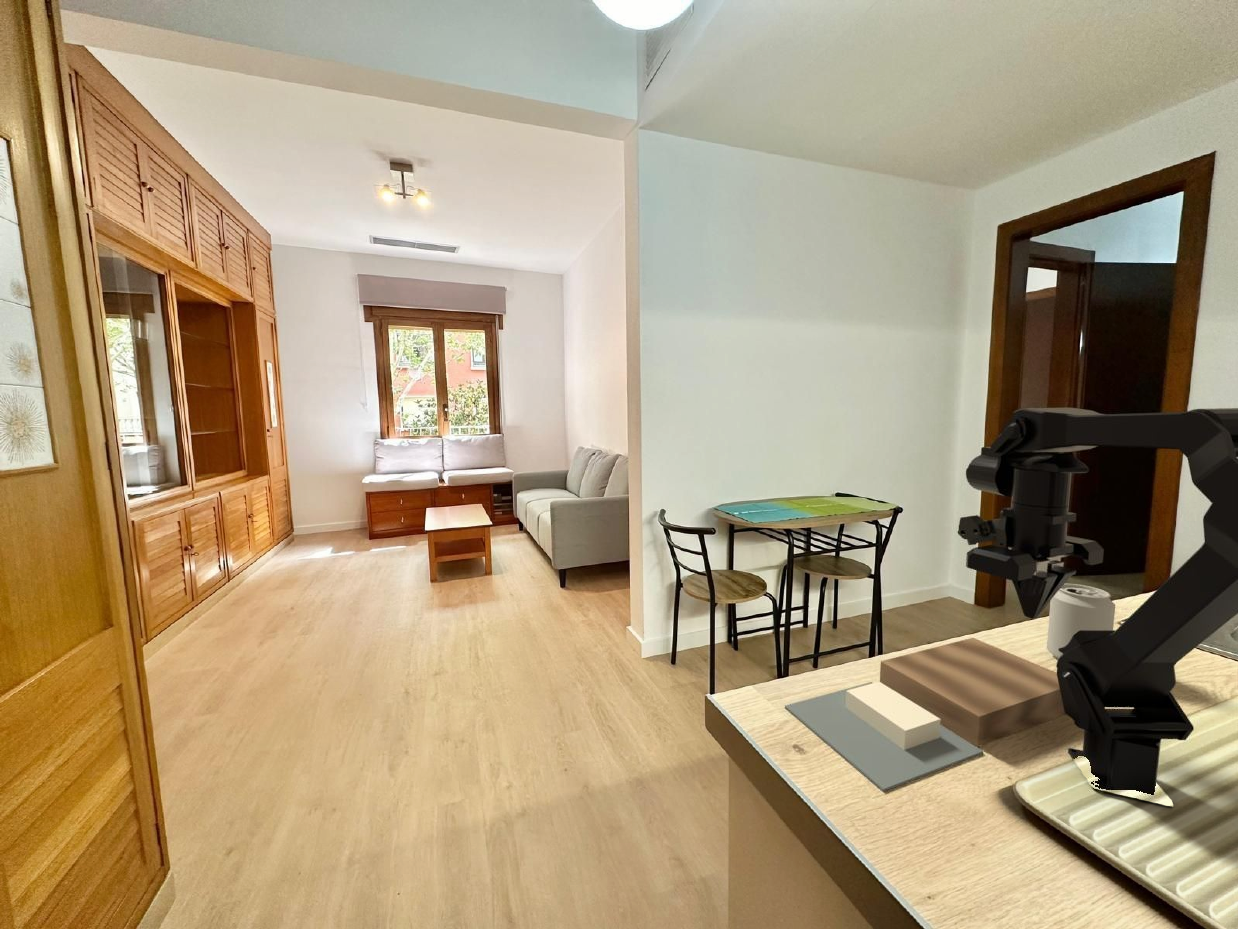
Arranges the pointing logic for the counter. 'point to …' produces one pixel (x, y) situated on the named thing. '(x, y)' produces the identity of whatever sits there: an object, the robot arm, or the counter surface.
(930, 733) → the tile
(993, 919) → the counter surface
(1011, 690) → the block
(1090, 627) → the can
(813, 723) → the mat
